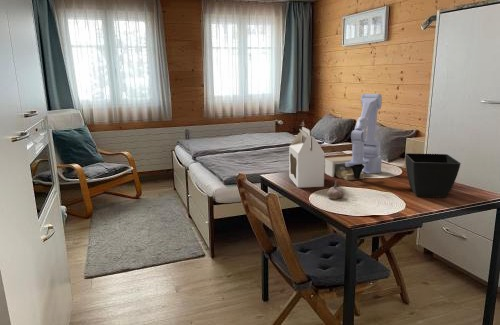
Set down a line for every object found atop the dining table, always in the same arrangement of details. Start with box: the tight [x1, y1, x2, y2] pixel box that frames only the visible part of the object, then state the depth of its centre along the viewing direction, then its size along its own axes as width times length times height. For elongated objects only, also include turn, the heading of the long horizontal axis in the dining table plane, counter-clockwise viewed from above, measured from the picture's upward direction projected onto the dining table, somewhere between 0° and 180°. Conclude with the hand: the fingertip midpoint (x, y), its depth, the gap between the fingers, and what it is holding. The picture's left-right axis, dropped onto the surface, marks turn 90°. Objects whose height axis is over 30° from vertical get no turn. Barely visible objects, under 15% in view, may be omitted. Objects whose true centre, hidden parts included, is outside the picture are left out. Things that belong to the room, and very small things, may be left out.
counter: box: [324, 155, 363, 178], centre depth 212 cm, size 18×10×9 cm, turn 104°
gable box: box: [288, 126, 325, 189], centre depth 195 cm, size 22×13×28 cm, turn 5°
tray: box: [334, 167, 365, 181], centre depth 204 cm, size 12×11×5 cm
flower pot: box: [404, 152, 462, 199], centre depth 172 cm, size 19×19×17 cm
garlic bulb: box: [326, 180, 345, 200], centre depth 169 cm, size 8×7×8 cm
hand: (356, 178), depth 198 cm, fingers closed
